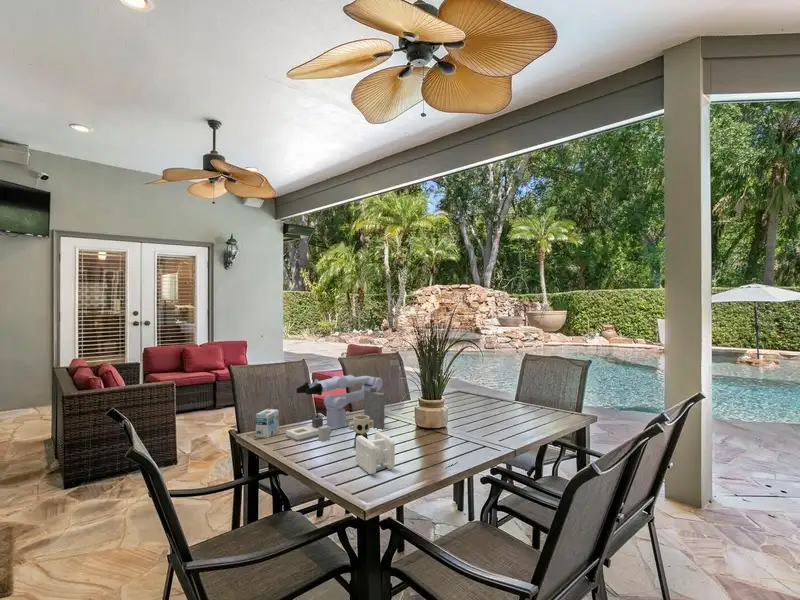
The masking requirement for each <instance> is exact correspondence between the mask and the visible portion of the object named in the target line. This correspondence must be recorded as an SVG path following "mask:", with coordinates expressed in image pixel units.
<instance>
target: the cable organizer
mask: <svg viewBox="0 0 800 600" xmlns="http://www.w3.org/2000/svg"><path fill="white" fill-rule="evenodd" d="M395 444H396V443H395V440H394V439H393V438H391V437H390V436H388V435H386V434H384V433H383V432H381V431H377V432H375V434H374V439H372V440H369V439H366V438H365V437H363V436H362V435H361V436H357V437H356V447H355V462H356V463H357V465H358V466H359V467H360V468H361V467H362V468H361V469H363V470H364V471H365V472H366V471H367V472H368V474H369V475H373V474H376V473H377V469H378V465H382V468H386V467H387V468H388V469H391V470H392V469H395V465H396V464H395V461H396V460H395V459H396V458H395V457H396V454H395V452H396V451H395V450H396V449H395V446H396V445H395ZM387 468H386V469H387ZM388 469H387V470H388ZM367 472H366V473H367Z"/></svg>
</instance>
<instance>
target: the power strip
mask: <svg viewBox="0 0 800 600" xmlns="http://www.w3.org/2000/svg"><path fill="white" fill-rule="evenodd" d="M325 425H326V424H323V426H325ZM330 430H332V429H331V427H330ZM318 433H319V428H314V427H312V424H309V425H304V426H300V427H296V428H292V429H286V430H285V437H286V438H287V437H288V438H287V439H289V438H291V439H290V440H292V439H293V440H292V441H294V440H295V441H294V442H297V443H299V442H298V441H300V442H303V441H307V440H310V438H311V439H315V438H318ZM314 437H315V438H314ZM306 439H307V440H306ZM302 440H303V441H302Z"/></svg>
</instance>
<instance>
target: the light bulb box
mask: <svg viewBox="0 0 800 600" xmlns="http://www.w3.org/2000/svg"><path fill="white" fill-rule="evenodd" d="M279 415H280V410H279V409H273V408H266V409H264V410H262V411H259V412H257V413H255V438H266V439H269V438H270V437H272V436H274V435H275V433H276V434H278V433H279V427H280V426H279V425H280V419H279V418H280V416H279Z"/></svg>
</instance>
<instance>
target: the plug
mask: <svg viewBox="0 0 800 600" xmlns="http://www.w3.org/2000/svg"><path fill="white" fill-rule="evenodd" d="M330 434H331V429H330V427H329V426H322V427H319V433H318V437H317V439H318V441H319V442H321V441H322V443H324V442H327V440H328V441H330V440H331V439H330V436H331V435H330ZM323 441H324V442H323Z"/></svg>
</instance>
